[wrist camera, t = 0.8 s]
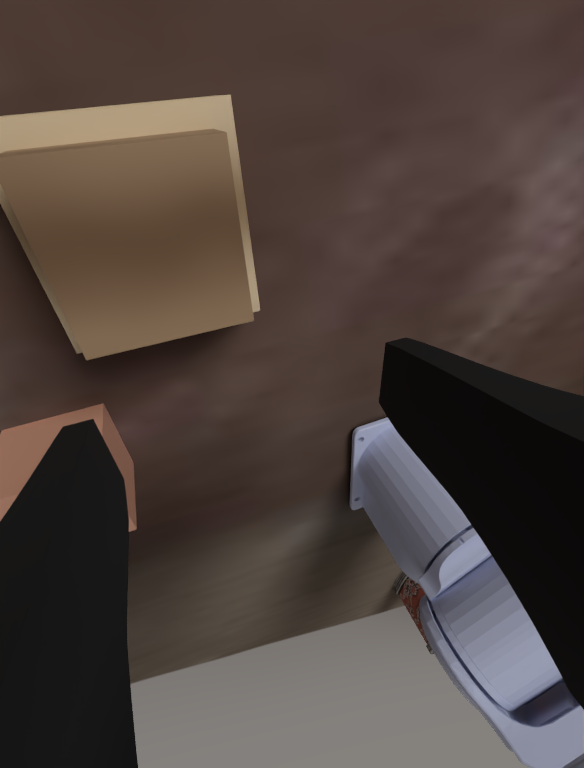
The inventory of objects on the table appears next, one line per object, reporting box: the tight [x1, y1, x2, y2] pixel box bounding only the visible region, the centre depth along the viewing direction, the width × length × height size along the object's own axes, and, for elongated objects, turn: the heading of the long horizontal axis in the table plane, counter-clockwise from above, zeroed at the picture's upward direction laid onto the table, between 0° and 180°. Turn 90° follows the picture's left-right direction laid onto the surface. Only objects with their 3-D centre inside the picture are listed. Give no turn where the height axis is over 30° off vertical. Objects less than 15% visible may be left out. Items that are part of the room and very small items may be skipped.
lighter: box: [393, 571, 434, 654], centre depth 42 cm, size 8×3×10 cm, turn 164°
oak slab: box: [0, 95, 260, 354], centre depth 14 cm, size 8×8×2 cm
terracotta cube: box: [0, 403, 137, 532], centre depth 18 cm, size 4×4×4 cm
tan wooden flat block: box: [0, 129, 254, 360], centre depth 13 cm, size 6×6×2 cm
